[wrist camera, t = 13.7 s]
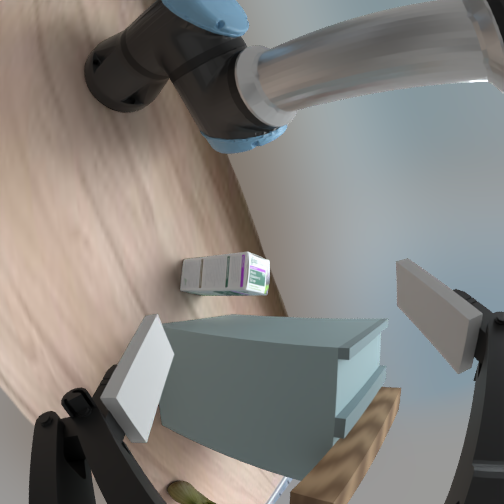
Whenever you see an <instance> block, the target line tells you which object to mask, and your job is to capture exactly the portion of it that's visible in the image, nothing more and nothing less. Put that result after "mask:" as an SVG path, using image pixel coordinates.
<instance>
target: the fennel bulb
mask: <svg viewBox="0 0 504 504" xmlns="http://www.w3.org/2000/svg"><path fill="white" fill-rule="evenodd" d="M167 491H168V493H169V495H170V496H171V497H172V498H173V499H174V500H175V501H176V502H178V503H180V504H216V503H214V502H212V501H210V500H209V499H208V498H206V497H205V496H204V495H202V494H201V493H200V492H198V491H197V490H196V489H195V488H194V487H193V486H192V485H191V484H190V483H188V482H186V481H176V482H174V483H172V484H171V485H170V486H169V487H168V489H167Z"/></svg>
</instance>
